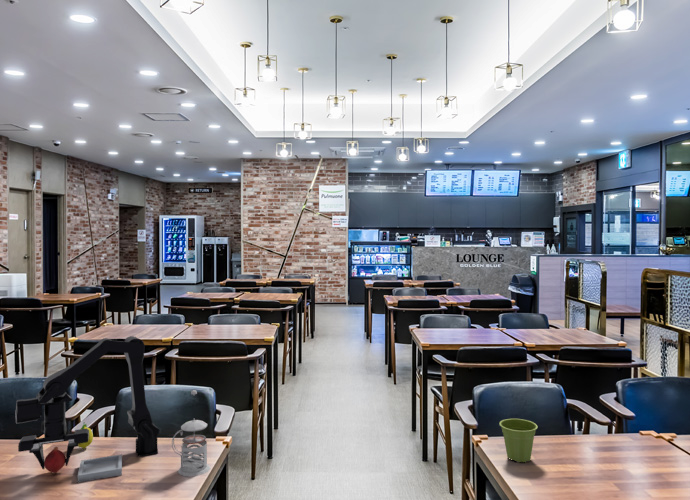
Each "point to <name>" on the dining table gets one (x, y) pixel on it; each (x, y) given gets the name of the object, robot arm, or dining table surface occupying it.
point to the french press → (193, 449)
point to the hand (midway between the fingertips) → (55, 467)
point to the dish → (100, 468)
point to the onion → (55, 460)
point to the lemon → (84, 445)
